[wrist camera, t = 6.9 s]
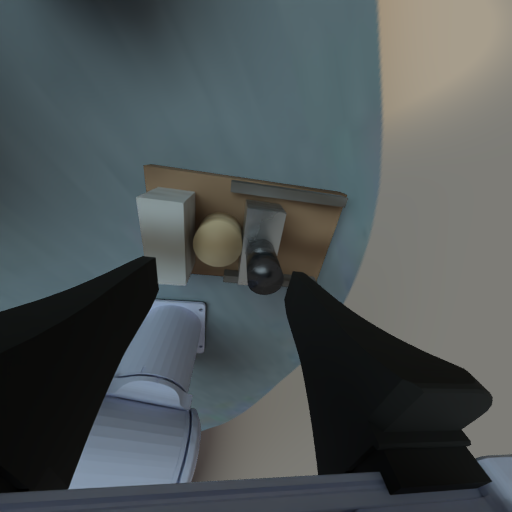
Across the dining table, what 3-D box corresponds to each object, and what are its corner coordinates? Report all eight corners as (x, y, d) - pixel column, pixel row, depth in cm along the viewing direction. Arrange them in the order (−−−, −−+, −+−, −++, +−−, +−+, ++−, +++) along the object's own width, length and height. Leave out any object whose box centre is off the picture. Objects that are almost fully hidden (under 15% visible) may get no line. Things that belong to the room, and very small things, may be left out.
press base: (311, 275, 24) (329, 308, 19) (160, 263, 21) (137, 296, 16) (339, 191, 19) (373, 206, 14) (150, 164, 17) (114, 169, 12)
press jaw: (266, 269, 21) (277, 320, 14) (238, 267, 20) (237, 318, 14) (279, 203, 17) (301, 232, 11) (246, 199, 17) (249, 227, 11)
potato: (239, 253, 20) (239, 268, 17) (199, 249, 19) (192, 264, 17) (244, 214, 18) (244, 226, 15) (199, 209, 17) (192, 220, 15)
